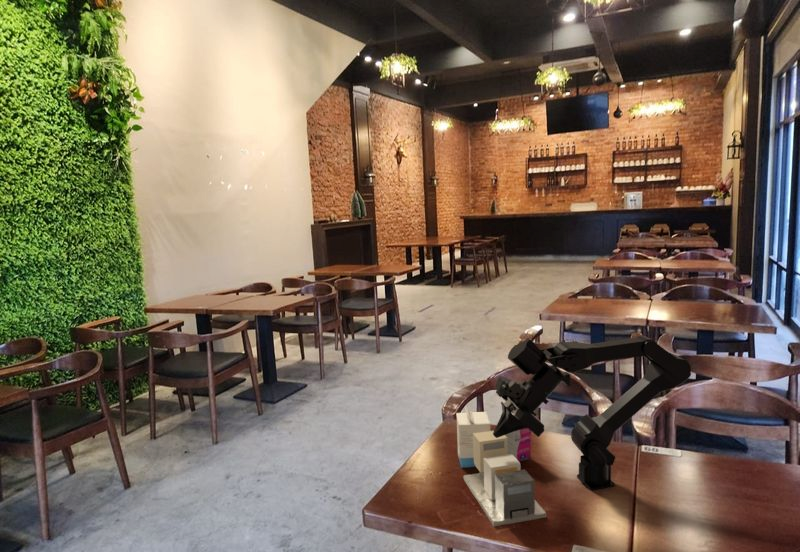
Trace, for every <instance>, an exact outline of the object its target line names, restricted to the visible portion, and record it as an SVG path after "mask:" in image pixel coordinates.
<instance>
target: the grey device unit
mask: <svg viewBox="0 0 800 552" xmlns="http://www.w3.org/2000/svg"><path fill="white" fill-rule="evenodd" d="M463 480H464V482H465V484H466V485H467V487H468V488H469V491H470V492H471V493H472V495H473V496H474V498H475V499H476V501H477V503H478V504H479V506H480V508H481V509H482V511H483V512H484V514H485V515H486V517H487V519H488V520H489V521H490V523H491V525H492V527H498V526H504V525H510V524H515V523H521V522H522V523H523V522H526V521H533V520H539V519H544V518H547V512H546V511H545V509H543V508H542V506H541V505H540V504H539V503H538V502H537V500H536V499H535V479H534V478H533V477H532V476H531V475H530V474H529V472H528V471H527V470H526V469H521V470H518V471H511V472H505V473H498V474H495V500H491V498H490V497H489V495H488V494H487V492H486V491H485V486H484V472H482V473H480V472H478V473H472V474H465V475H463Z"/></svg>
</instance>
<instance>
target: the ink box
mask: <svg viewBox="0 0 800 552" xmlns="http://www.w3.org/2000/svg"><path fill="white" fill-rule="evenodd" d="M464 410H465V412H456V413H455V414H456V437H457V439H456V440H457V456H458V460H459V464H460V468H462V469H463V468H477V467H476V466H475V464H474V455H473V433H480V432H487V431H492V430H491V422H490V418H489V415H488V412H487V411H471V410H470V409H469V408H468V407H466V406H464Z"/></svg>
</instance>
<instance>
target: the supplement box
mask: <svg viewBox="0 0 800 552" xmlns="http://www.w3.org/2000/svg"><path fill="white" fill-rule="evenodd" d="M531 432H532V431H531V430H529V429H528V428H527V429H526V428H524V429H521V430H517V431H514V432H511V433H509V434H506V435H505V436H506V437H507V441H508V454H512V455H513V456H514V457H515V458H516V459H517V460H518V461H519V462H520V463H521V462H522V461H526V460H529V459H531V458H532V457H531V455H532V454H531V452H532V451H531V448H532V447H531V444H532V443H531V441H532V439H531V438H532V437H531V436H532V435H531V434H532V433H531Z"/></svg>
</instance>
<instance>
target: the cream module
mask: <svg viewBox="0 0 800 552" xmlns="http://www.w3.org/2000/svg"><path fill="white" fill-rule="evenodd" d="M518 470H522V469H521V461H520V462H519V461H518V460H517V459H516V458H515V457H514V456H513V455H512V454H506V455H500V456H493V457H486V458H484V486H485V491H486V492H487V494H488V495H489V497H490V498H491V500H495V474H498V473H505V472H511V471H518Z"/></svg>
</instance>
